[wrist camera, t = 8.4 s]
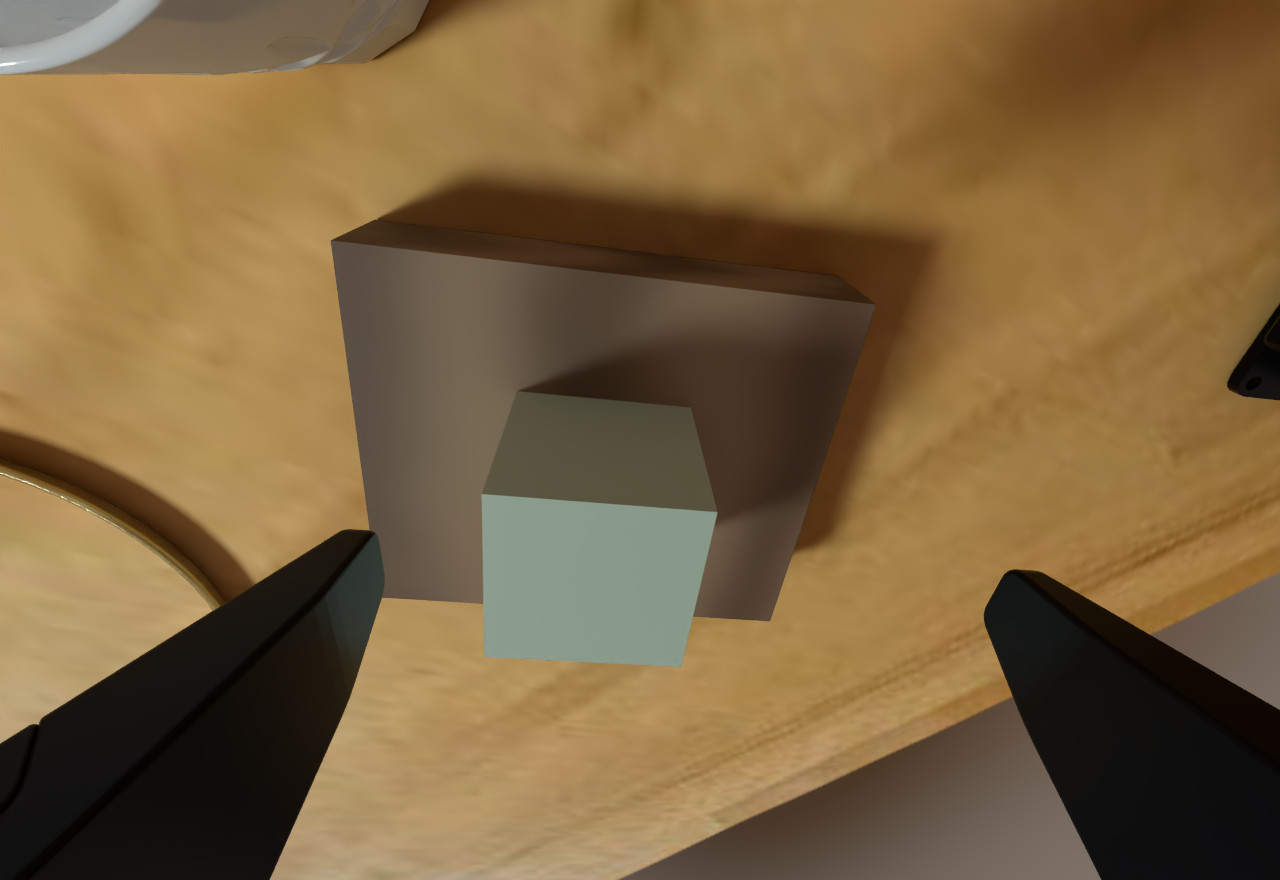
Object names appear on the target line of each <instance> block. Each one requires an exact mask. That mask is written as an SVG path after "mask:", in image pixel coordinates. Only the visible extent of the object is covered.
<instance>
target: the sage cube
mask: <svg viewBox="0 0 1280 880" xmlns="http://www.w3.org/2000/svg"><path fill="white" fill-rule="evenodd" d="M717 513H718V512H717V508H716V504H715V500H714V496H713V492H712V488H711V484H710V480H709V476H708V473H707V469H706V465H705V461H704V457H703V453H702V449H701V445H700V441H699V437H698V433H697V429H696V425H695V422H694V418H693V414H692V410H691V407H680V406H669V405H659V404H648V403H637V402H627V401H616V400H605V399H595V398H584V397H574V396H563V395H552V394H542V393H531V392H520V391H517V393H516V395H515V398H514V401H513V404H512V407H511V410H510V413H509V416H508V419H507V422H506V425H505V428H504V430H503V433H502V436H501V439H500V442H499V445H498V448H497V451H496V454H495V457H494V460H493V462H492V465H491V468H490V471H489V474H488V477H487V480H486V483H485V486H484V489H483V492H482V546H483V608H484V657H496V658H516V659H536V660H556V661H575V662H595V663H615V664H635V665H655V666H674V667H681V665H682V661H683V656H684V652H685V648H686V644H687V640H688V635H689V631H690V627H691V623H692V618H693V614H694V610H695V606H696V601H697V597H698V593H699V589H700V585H701V580H702V576H703V572H704V568H705V563H706V559H707V555H708V551H709V546H710V542H711V538H712V534H713V530H714V525H715V521H716V517H717Z"/></svg>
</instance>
